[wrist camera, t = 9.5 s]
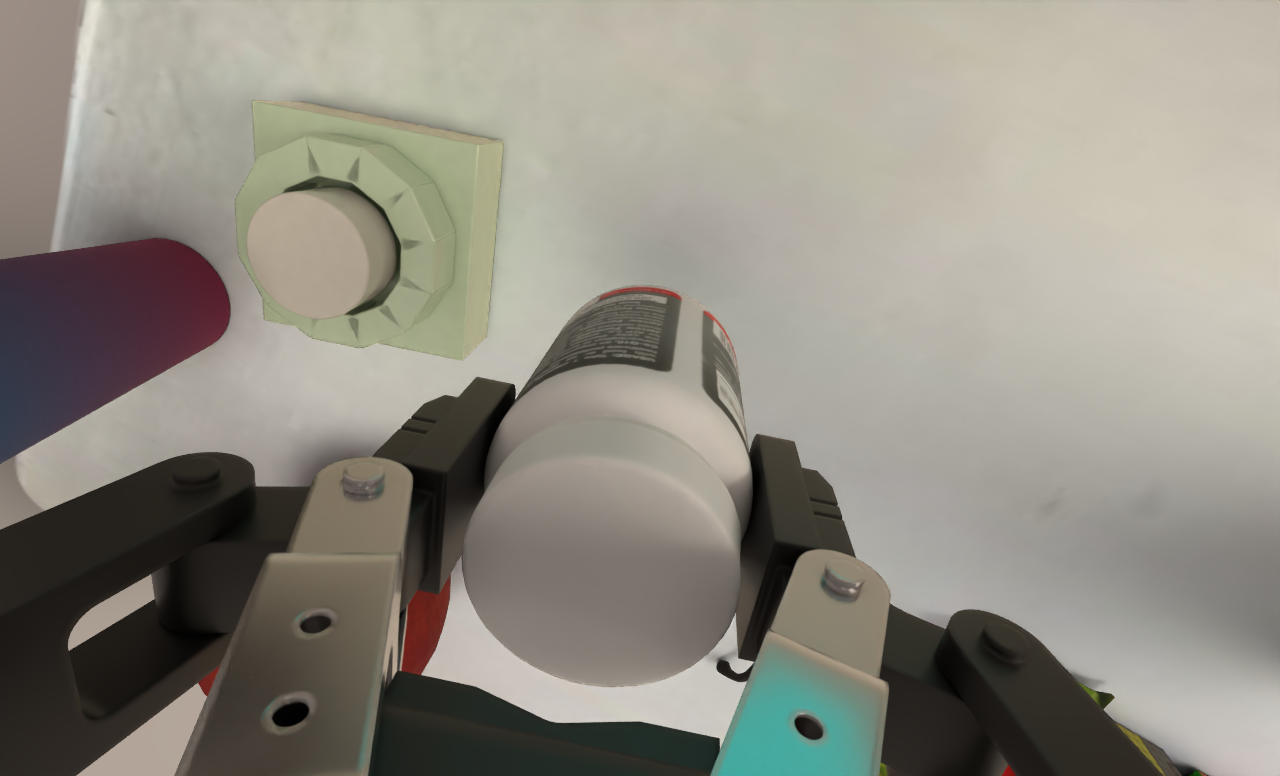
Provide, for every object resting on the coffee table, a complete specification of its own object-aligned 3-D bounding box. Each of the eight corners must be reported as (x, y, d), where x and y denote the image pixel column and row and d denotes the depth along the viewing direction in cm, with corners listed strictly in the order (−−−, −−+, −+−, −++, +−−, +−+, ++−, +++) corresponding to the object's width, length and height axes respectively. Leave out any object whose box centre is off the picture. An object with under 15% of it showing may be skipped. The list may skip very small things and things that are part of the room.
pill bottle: (526, 400, 17) (381, 622, 10) (606, 245, 16) (508, 368, 8) (679, 481, 18) (657, 754, 10) (774, 341, 16) (834, 543, 8)
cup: (208, 395, 30) (-205, 625, 17) (77, 298, 29) (-488, 460, 15) (277, 292, 28) (-138, 461, 14) (137, 181, 27) (-465, 249, 13)
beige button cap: (399, 198, 21) (369, 206, 20) (396, 313, 23) (368, 330, 21) (282, 175, 22) (241, 180, 20) (286, 291, 23) (249, 306, 21)
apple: (522, 540, 32) (447, 711, 23) (402, 632, 35) (293, 815, 26) (375, 404, 30) (226, 532, 21) (261, 515, 33) (88, 669, 24)
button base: (504, 141, 25) (457, 147, 20) (487, 337, 28) (443, 380, 23) (301, 101, 25) (209, 98, 20) (307, 300, 28) (228, 336, 24)
